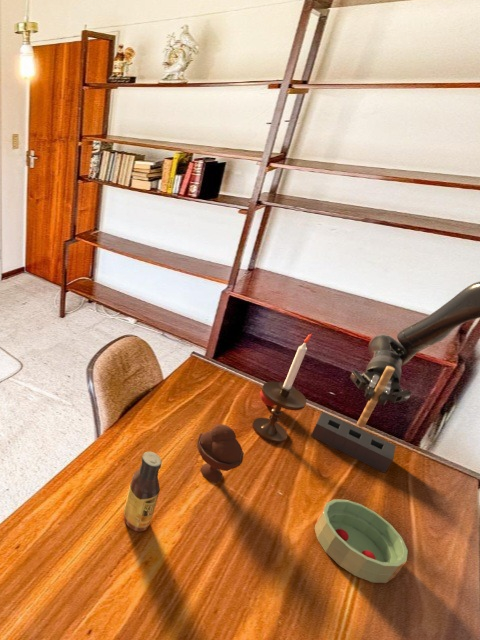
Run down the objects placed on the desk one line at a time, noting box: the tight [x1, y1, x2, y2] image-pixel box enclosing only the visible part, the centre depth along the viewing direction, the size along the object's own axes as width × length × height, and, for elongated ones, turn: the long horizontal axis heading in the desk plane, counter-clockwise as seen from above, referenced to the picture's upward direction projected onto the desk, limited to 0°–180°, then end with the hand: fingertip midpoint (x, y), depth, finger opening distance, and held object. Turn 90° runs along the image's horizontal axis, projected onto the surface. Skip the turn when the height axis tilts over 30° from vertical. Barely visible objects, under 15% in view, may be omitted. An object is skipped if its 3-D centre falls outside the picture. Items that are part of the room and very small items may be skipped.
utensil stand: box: [310, 411, 397, 474], centre depth 114 cm, size 17×7×5 cm, turn 44°
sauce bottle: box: [123, 451, 163, 533], centre depth 88 cm, size 6×6×20 cm
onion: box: [259, 389, 276, 407], centre depth 128 cm, size 6×6×8 cm
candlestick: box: [251, 333, 313, 444], centre depth 111 cm, size 11×11×35 cm
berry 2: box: [362, 550, 376, 560], centre depth 85 cm, size 2×2×2 cm
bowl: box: [314, 498, 409, 584], centre depth 87 cm, size 14×14×6 cm
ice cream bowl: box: [196, 424, 245, 483], centre depth 102 cm, size 11×11×15 cm
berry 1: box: [336, 529, 349, 541], centre depth 89 cm, size 2×2×2 cm
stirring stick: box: [356, 366, 395, 428], centre depth 107 cm, size 2×2×20 cm
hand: (375, 399), depth 104 cm, fingers closed on stirring stick, 1 cm apart
